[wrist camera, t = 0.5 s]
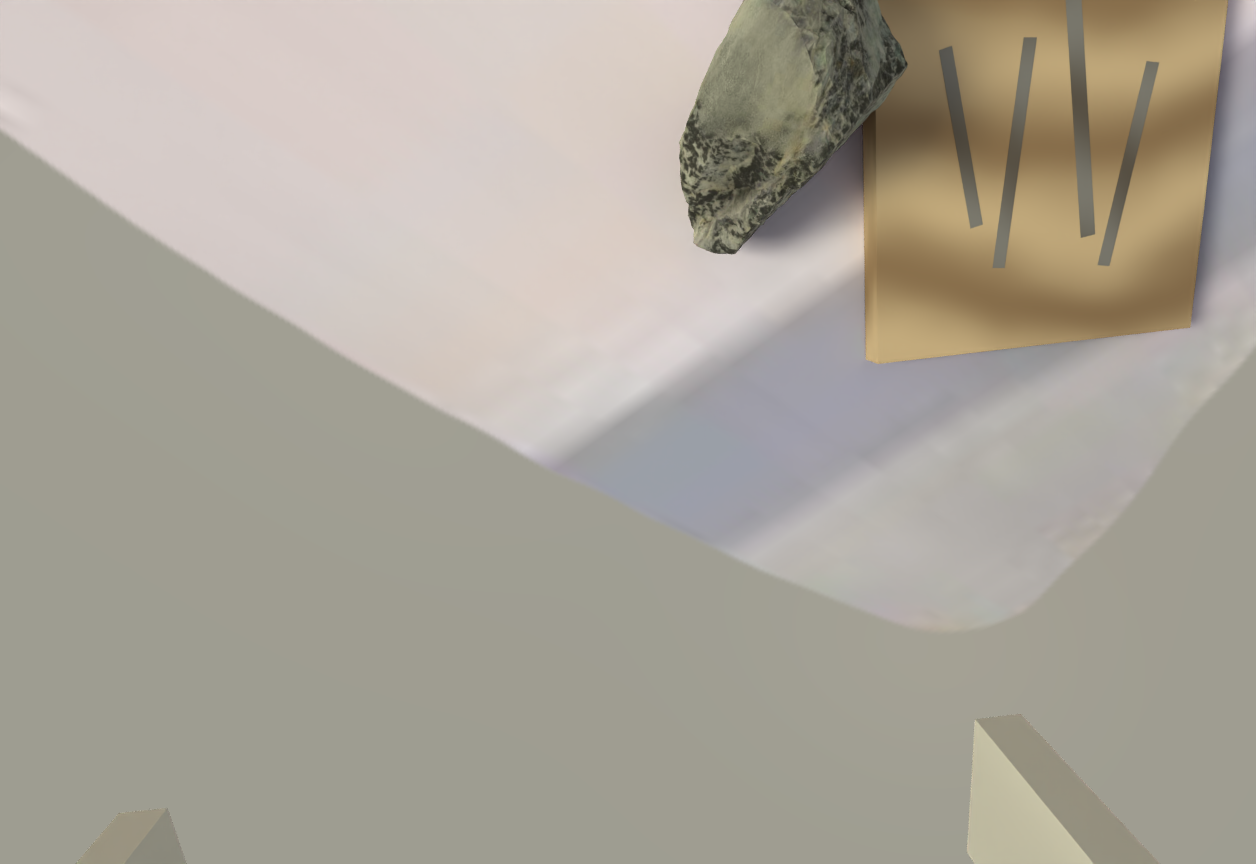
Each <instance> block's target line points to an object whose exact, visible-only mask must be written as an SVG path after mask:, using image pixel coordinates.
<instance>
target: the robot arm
mask: <svg viewBox="0 0 1256 864" xmlns="http://www.w3.org/2000/svg"><path fill="white" fill-rule="evenodd" d="M972 762H973V763H972V778H971V779H972V780H971V794H970V810H969V828H968V843H967V853H968V854H969V856H970V857H971V859H972V861H973V862H974V864H1160V863H1159V862H1158V861H1157V860H1156V859H1155V858H1154V857H1153V856H1152V854H1150V853H1149V851H1148V850H1147V849H1146V848H1145V847H1144V846H1143V845H1142V844H1141V843H1140V842H1139V841H1138V839H1137V838H1136V837H1135V836H1134V835H1133V834H1132V833H1131V832H1130V831H1129V830H1128V829H1127V828H1126V827H1125V826H1124V824H1123V823H1122V822H1121V821H1120V820H1119V819H1118V818H1117V817H1116V816H1115V815H1114V814H1113V813H1112V812H1111V810H1110V809H1108V807H1107V806H1106V805H1105V804H1104V803H1103V802H1102V801H1101V800H1100V799H1099V798H1098V796H1097V795H1096V794H1095V793H1094V792H1093V791H1092V790H1091V789H1090V788H1089V787H1088V786H1087V785H1086V783H1084V781H1083V780H1082V779H1081V778H1080V777H1079V776H1078V775H1077V774H1076V773H1075V772H1074V771H1073V770H1072V768H1071V767H1070V766H1069V765H1068V764H1067V763H1066V762H1065V761H1064V760H1063V759H1062V758H1061V757H1060V756H1059V754H1058V753H1057V752H1056V751H1055V750H1054V749H1053V748H1052V747H1051V746H1050V745H1049V744H1048V743H1047V742H1046V740H1045V739H1044V738H1043V737H1042V736H1041V735H1040V734H1039V733H1038V732H1037V731H1036V730H1035V729H1034V728H1033V726H1032V725H1031V724H1030V723H1029V722H1028V721H1027V720H1026V719H1025V718H1024V717H1023V716H1022V715H1021V714H1016V715H1007V716H998V717H989V718H980V719H975V729H974V746H973V761H972ZM76 864H187V863H186V861H185V858H184V855H183V852H182V849H181V846H180V843H179V840H178V837H177V834H176V831H175V828H174V825H173V822H172V819H171V816H170V814H169V811H168V808H162V809H154V810H144V811H135V812H126V813H119V814H118V815H117V816H116V818H115V819H114V820H113V821H112V822H111V823H110V824H109V826H108V827H107V828H106V829H105V830H104V831H103V832H102V834H101V835H100V836H99V837H98V838H97V839H96V841H95V842H94V843H93V844H92V845H91V847H90V848H89V849H88V850H87V851H86V852H85V854H84V855H83V856H82V857H81V858H80V859H79V860H78V862H77V863H76Z"/></svg>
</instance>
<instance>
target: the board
mask: <svg viewBox="0 0 1256 864" xmlns="http://www.w3.org/2000/svg"><path fill="white" fill-rule="evenodd" d="M877 1H878V4H879V7H880V10H881V14H882V16H883V17H884V19H885V21H886V23H887V24H888V26H889V28H890V31H891V33H892V35H893V36H894V37H895V39H896V40H897V41H898V42H899V44H900V45H901V48H902V51H903V54H904V57H905V60H906V61H907V63H908V66H907V68H906V70H905V71H904V73H903V75H902V76H901V77H900V78H899V79H898V80H897V81H896V82H895V84H894V87H893V88H892V90H891V91H890V93H889V94H888V96H887V98H886V99H885V101H884V102H883V103H882V104H881V106H880V107H879V108H878V109H876V110H875V111H873V112H872V113H871V114H870V115H869V116H868V118H867V119H866V120H865V121H864V122H863V176H864V252H865V327H866V360H869V361H872V362H874V363H877V364H880V363H889V362H898V361H906V360H915V359H923V358H932V357H941V356H949V355H958V354H966V353H975V352H984V351H992V350H1001V349H1009V348H1018V347H1027V346H1035V345H1044V344H1052V343H1061V342H1070V341H1078V340H1087V339H1095V338H1104V337H1113V336H1121V335H1130V334H1138V333H1147V332H1156V331H1164V330H1173V329H1181V328H1190V325H1191V316H1192V308H1193V299H1194V290H1195V282H1196V273H1197V265H1198V256H1199V247H1200V239H1201V230H1202V221H1203V213H1204V204H1205V196H1206V187H1207V178H1208V170H1209V161H1210V153H1211V144H1212V135H1213V127H1214V118H1215V110H1216V101H1217V92H1218V84H1219V75H1220V66H1221V58H1222V49H1223V41H1224V32H1225V23H1226V15H1227V6H1228V0H877Z"/></svg>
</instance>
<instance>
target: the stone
mask: <svg viewBox="0 0 1256 864" xmlns="http://www.w3.org/2000/svg"><path fill="white" fill-rule="evenodd" d="M907 66H908V63H907V61H906V60H905V57H904V54H903V51H902V48H901V45H900V44H899V42H898V41H897V40H896V39H895V37H894V36H893V35H892V33H891V31H890V28H889V26H888V24H887V23H886V21H885V19H884V17H883V16H882V14H881V10H880V7H879V4H878V1H877V0H744V1H743V3H742V4H741V6H740V8H739V10H738V11H737V13H736V15H735V17H734V18H733V20H732V22H731V24H730V27H729V30H728V33H727V35H726V37H725V38H724V40H723V41H722V43H721V44H720V46H719V47H718V49H717V50H716V53H715V55H714V57H713V60H712V62H711V64H710V67H709V69H708V71H707V73H706V76H705V78H704V80H703V82H702V84H701V87H700V90H699V93H698V96H697V99H696V102H695V105H694V107H693V109H692V111H691V113H690V116H689V119H688V121H687V125H686V128H685V131H684V133H683V135H682V137H681V140H680V142H679V144H680V155H679V158H680V164H681V167H680V175H681V185H682V190H683V193H684V196H685V198H686V202H687V203H688V204H689V209H688V216H689V218H690V221H691V226H692V228H693V229H694V234H693V235H694V242H693V243H694V244H696V245H697V246H698V247H700V248H703V249H705V250H707V251H710V252H713V253H718V254H727V253H728V254H735V253H736V252H737V251H738V250H739V249H740V248H741V246H742V245H743V244H744V243H745V242H746V241H747V240H748V239H749V238H750V237H751V236H752V235H753V233H754V232H755V231H756V230H757V229H758V228H759V227H760V226H761V225H763V224H764V222H765V221H766V219H767V218H769V217H770V216H771V215H772V214H773V213H774V212H775V211H776V209H777V208H778V207H780V206H782V205H783V204H784V203H785V202H786V201H787V200H788V199H789V198H790V197H791V195H793V194H794V193H795V192H796V191H797V190H798V189H800V188H801V187H802V186H804V185H805V184H806V183H807V182H808V181H809V180H810V179H811V178H812V177H813V176H814V175H815V174H816V173H817V172H818V171H819V170H821V169H822V168H823V166H824V165H825V164H826V162H827V161H828V160H829V158H830V157H831V155H832V154H833V153H834V152H835V151H836V150H838V149H839V148H840V147H841V146H842V145H843V144H844V143H845V142H846V141H847V139H848V138H849V137H850V136H851V134H852V133H853V132H854V131H855V130H856V129H857V128H858V127H859V126H860V125H861V124H862V123H863V122H864V121H865V120H866V119H867V118H868V116H869V115H870V114H871V113H872V112H873V111H875V110H876V109H878V108H879V107H880V106H881V104H882V103H883V102H884V101H885V99H886V98H887V96H888V94H889V93H890V91H891V90H892V88H893V87H894V84H895V82H896V81H897V80H898V79H899V78H900V77H901V76H902V75H903V73H904V71H905V70H906V68H907Z"/></svg>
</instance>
